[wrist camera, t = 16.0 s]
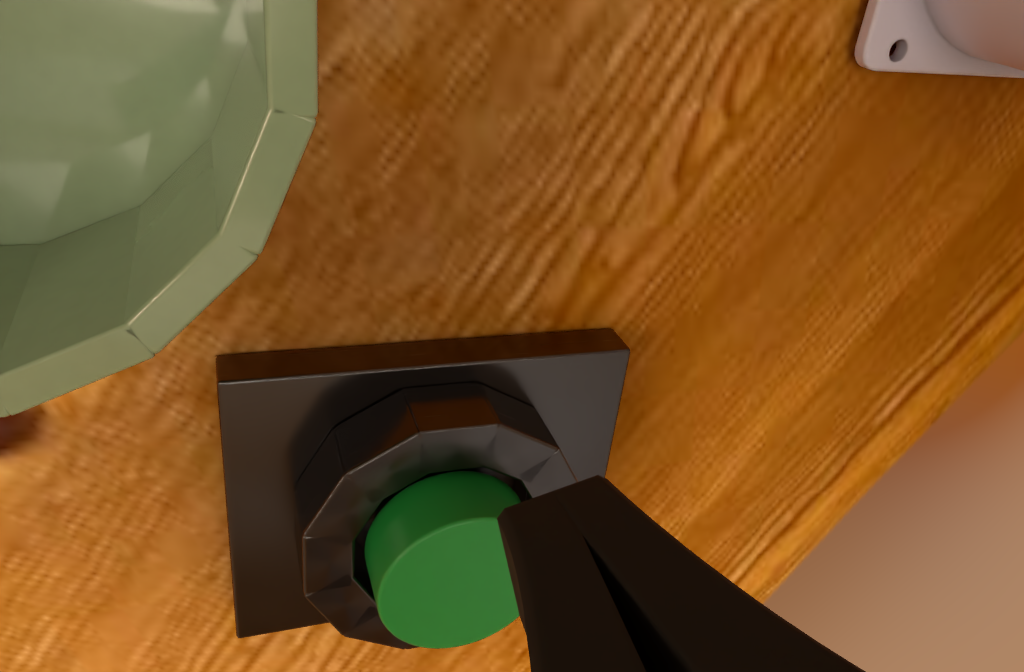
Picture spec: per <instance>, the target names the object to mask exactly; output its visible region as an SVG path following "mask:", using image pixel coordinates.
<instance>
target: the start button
mask: <svg viewBox="0 0 1024 672" xmlns="http://www.w3.org/2000/svg"><path fill="white" fill-rule="evenodd" d="M520 502H521V501H520V499H519V497H518V496H517V494H516V493H515V492H514V490H513V489H512V488H511V487H509V486H508V485H507V484H506V483H504V482H503V481H501V480H500V479H498V478H495V477H493V476H491V475H488V474H484V473H480V472H474V471H453V472H447V473H441V474H437V475H434V476H430V477H428V478H425V479H423V480H420V481H418V482H416V483H414V484H412V485H410V486H408V487H407V488H405V489H404V490H402V491H401V492H399V493H398V494H397V495H395V496H394V497H393V498H392V499H391V500H390V501H389V502H388V503H387V504H386V505H385V506H384V507H383V508H382V509H381V510H380V512H379V513H378V514H377V516H376V517H375V519H374V520H373V522H372V524H371V526H370V529H369V531H368V534H367V537H366V541H365V549H364V551H365V560H366V564H367V569H368V573H369V577H370V581H371V585H372V589H373V593H374V597H375V602H376V606H377V610H378V614H379V617H380V619H381V621H382V623H383V624H384V625H385V627H386V628H387V629H388V630H389V631H390V632H391V633H392V634H393V635H394V636H395V637H397V638H399V639H400V640H402V641H404V642H406V643H408V644H411V645H415V646H418V647H424V648H437V649H439V648H451V647H458V646H462V645H466V644H470V643H473V642H476V641H479V640H481V639H484V638H486V637H488V636H490V635H492V634H494V633H496V632H498V631H500V630H501V629H503V628H504V627H506V626H507V625H509V624H510V623H511V622H513V621H514V620H515V619H516V618H517V617H519V616H520V615H519V611H518V607H517V602H516V598H515V594H514V589H513V585H512V581H511V576H510V572H509V568H508V563H507V559H506V555H505V551H504V546H503V542H502V538H501V533H500V529H499V525H498V520H497V518H498V516H499V515H500V514H501V512H502V511H503V510H504V508H506V507H509V506H512V505H515V504H518V503H520Z"/></svg>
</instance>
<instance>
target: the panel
mask: <svg viewBox="0 0 1024 672" xmlns="http://www.w3.org/2000/svg"><path fill="white" fill-rule="evenodd" d="M629 355H630V349H629V348H628V346H627V345H626V344H625V343H624V342H623V341H622V339H621V338H620V337H619V336H618V335H617V334H616V332H615V331H614V330H613V329H596V330H582V331H567V332H553V333H538V334H524V335H509V336H495V337H481V338H466V339H452V340H437V341H423V342H408V343H394V344H380V345H365V346H351V347H336V348H322V349H307V350H293V351H279V352H264V353H250V354H235V355H221V356H217V358H216V376H217V392H218V405H219V418H220V430H221V443H222V456H223V469H224V482H225V494H226V507H227V520H228V533H229V546H230V558H231V571H232V584H233V597H234V609H235V622H236V635H237V637H238V638H244V637H250V636H255V635H261V634H267V633H272V632H278V631H284V630H289V629H295V628H301V627H307V626H312V625H318V624H324V623H329V622H330V623H331V624H332V625H333V626H334V627H335V628H336V629H337V630H338V631H339V632H340V633H341V634H342V635H344V636H345V637H349V638H354V639H359V640H363V641H368V642H372V643H377V644H382V645H386V646H391V647H395V648H400V649H412V648H417V647H418V646H415V645H411V644H408V643H406V642H404V641H402V640H400V639H399V638H397V637H395V636H394V635H393V634H392V633H391V632H390V631H389V630H388V629H387V628H386V627H385V625H384V624H383V623H382V621H381V619H380V617H379V614H378V610H377V606H376V602H375V597H374V593H373V589H372V585H371V581H370V577H369V573H368V569H367V564H366V560H365V551H364V549H365V541H366V537H367V534H368V531H369V529H370V526H371V524H372V522H373V520H374V519H375V517H376V516H377V514H378V513H379V512H380V510H381V509H382V508H383V507H384V506H385V505H386V504H387V503H388V502H389V501H390V500H391V499H392V498H393V497H394V496H395V495H397V494H398V493H399V492H401V491H402V490H404V489H405V488H407V487H408V486H410V485H412V484H414V483H416V482H418V481H420V480H423V479H425V478H428V477H430V476H434V475H437V474H441V473H447V472H453V471H474V472H480V473H484V474H488V475H491V476H493V477H495V478H498V479H500V480H501V481H503V482H504V483H506V484H507V485H508V486H509V487H511V488H512V489H513V490H514V492H515V493H516V494H517V496H518V497H519V499H520V501H521V502H523V501H526V500H529V499H532V498H534V497H537V496H540V495H543V494H546V493H549V492H551V491H554V490H557V489H560V488H563V487H565V486H568V485H571V484H574V483H577V482H579V481H582V480H585V479H588V478H591V477H593V476H596V475H599V476H602V477H604V478H605V475H606V470H607V465H608V460H609V455H610V450H611V445H612V440H613V435H614V430H615V425H616V420H617V415H618V410H619V405H620V400H621V395H622V390H623V385H624V380H625V375H626V370H627V365H628V360H629Z"/></svg>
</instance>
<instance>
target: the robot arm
mask: <svg viewBox="0 0 1024 672" xmlns="http://www.w3.org/2000/svg"><path fill="white" fill-rule="evenodd" d="M895 42H897V43H896V49H895V51H894V53H893V54H892V55H891V56H890V57H889V52H890V49H891V47H892V45H893V44H894V43H895ZM854 55H855V59H856V62H857V63H858V64H859V66H861V67H864V68H867V69H870V70H873V71H888V72H909V73H929V74H950V75H971V76H991V77H1012V78H1024V0H869V2H868V5H867V9H866V12H865V15H864V19H863V22H862V26H861V29H860V32H859V36H858V39H857V43H856V46H855V54H854ZM497 520H498V525H499V529H500V533H501V538H502V542H503V546H504V551H505V555H506V559H507V563H508V568H509V572H510V576H511V581H512V585H513V589H514V594H515V598H516V602H517V607H518V611H519V615H520V618H521V621H522V623H523V626H524V629H525V632H526V635H527V641H528V649H529V657H530V665H531V672H865V671H864V670H862V669H860V668H858V667H857V666H855V665H854V664H852V663H850V662H849V661H847V660H846V659H844V658H842V657H841V656H839V655H838V654H836V653H834V652H833V651H831V650H830V649H828V648H827V647H825V646H823V645H822V644H820V643H819V642H817V641H816V640H814V639H813V638H811V637H810V636H808V635H807V634H805V633H804V632H802V631H801V630H799V629H798V628H796V627H795V626H793V625H792V624H790V623H789V622H787V621H786V620H784V619H783V618H781V617H780V616H778V615H777V614H775V613H774V612H773V611H771V610H770V609H768V608H767V607H765V606H764V605H763V604H761V603H760V602H758V601H757V600H756V599H754V598H753V597H751V596H750V595H749V594H747V593H746V592H745V591H743V590H742V589H741V588H739V587H738V586H737V585H735V584H734V583H732V582H731V581H730V580H728V579H727V578H726V577H724V576H723V575H722V574H720V573H719V572H718V571H716V570H715V569H714V568H712V567H711V566H710V565H708V564H707V563H706V562H704V561H703V560H702V559H701V558H699V557H698V556H697V555H695V554H694V553H693V552H692V551H690V550H689V549H688V548H686V547H685V546H684V545H683V544H682V543H680V542H679V541H678V540H677V539H675V538H674V537H673V536H672V535H671V534H669V533H668V532H667V531H666V530H664V529H663V528H662V527H661V526H660V525H658V524H657V523H656V522H655V521H654V520H652V519H651V518H650V517H649V516H648V515H647V514H645V513H644V512H643V511H642V510H641V509H640V508H638V507H637V506H636V505H635V504H634V503H633V502H632V501H630V500H629V499H628V498H627V497H626V496H625V495H624V494H623V493H622V492H620V491H619V490H618V489H617V488H616V487H615V486H614V485H613V484H612V483H611V482H610V481H609V480H607V479H606V478H604V477H602V476H599V475H596V476H593V477H591V478H588V479H585V480H582V481H579V482H577V483H574V484H571V485H568V486H565V487H563V488H560V489H557V490H554V491H551V492H549V493H546V494H543V495H540V496H537V497H534V498H532V499H529V500H526V501H523V502H520V503H518V504H515V505H512V506H509V507H506V508H504V510H503V511H502V512H501V514H500V515H499V516H498V518H497Z"/></svg>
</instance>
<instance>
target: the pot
mask: <svg viewBox="0 0 1024 672" xmlns="http://www.w3.org/2000/svg"><path fill="white" fill-rule="evenodd" d="M318 113H319V100H318V0H0V417H7V416H9V415H15V414H18V413H20V412H22V411H25V410H27V409H30V408H32V407H35V406H37V405H39V404H42V403H44V402H47V401H49V400H51V399H54V398H56V397H59V396H61V395H64V394H66V393H68V392H71V391H73V390H76V389H78V388H81V387H83V386H85V385H88V384H90V383H93V382H95V381H98V380H100V379H102V378H105V377H107V376H110V375H112V374H114V373H117V372H119V371H122V370H124V369H127V368H129V367H131V366H134V365H136V364H139V363H141V362H144V361H146V360H148V359H151V358H153V357H154V356H155V354H157V353H159V352H160V351H161V350H162V349H163V348H164V347H166V346H167V345H168V344H169V343H170V342H171V341H172V340H173V339H174V338H175V337H176V336H177V335H178V334H179V333H180V332H181V331H182V330H183V329H184V328H186V327H187V326H188V325H189V324H190V323H191V322H192V321H193V320H194V319H195V318H196V317H197V316H198V315H199V314H200V313H201V312H202V311H203V310H204V309H206V308H207V307H208V306H209V305H210V304H211V303H212V302H213V301H214V300H215V299H216V298H217V297H218V296H219V295H220V294H221V293H222V292H223V291H224V290H226V289H227V288H228V287H229V286H230V285H231V284H232V283H233V282H234V281H235V280H236V279H237V278H238V277H239V276H240V275H241V274H242V273H243V272H244V271H246V270H247V269H248V268H249V267H250V266H251V265H252V264H253V263H254V262H255V261H256V260H257V258H258V254H260V253H261V252H262V251H263V250H264V247H265V245H266V243H267V240H268V238H269V235H270V233H271V231H272V228H273V226H274V224H275V221H276V219H277V216H278V214H279V212H280V209H281V207H282V204H283V202H284V200H285V197H286V195H287V193H288V190H289V188H290V185H291V183H292V181H293V178H294V176H295V174H296V171H297V169H298V166H299V164H300V162H301V159H302V157H303V154H304V152H305V150H306V147H307V145H308V143H309V140H310V138H311V135H312V133H313V131H314V128H315V126H316V118H315V117H317V115H318Z"/></svg>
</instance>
